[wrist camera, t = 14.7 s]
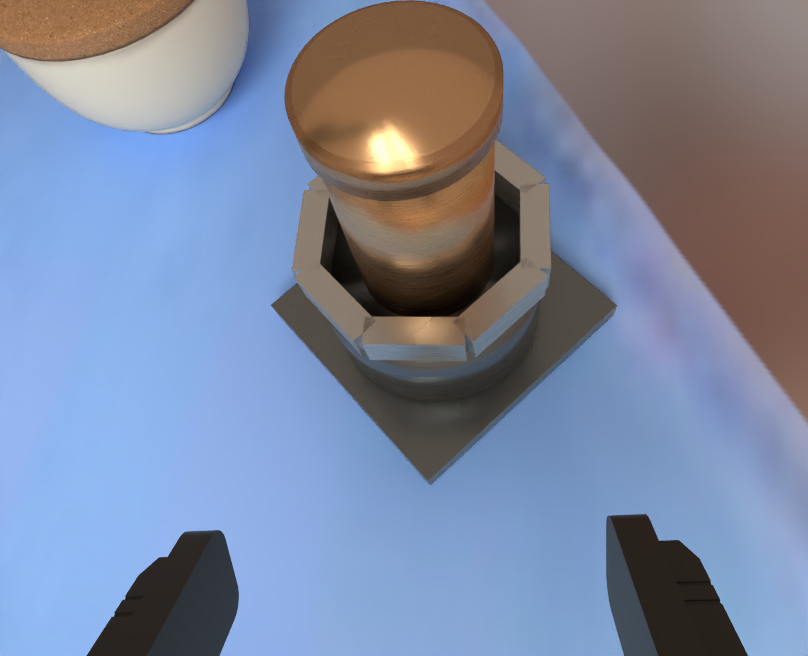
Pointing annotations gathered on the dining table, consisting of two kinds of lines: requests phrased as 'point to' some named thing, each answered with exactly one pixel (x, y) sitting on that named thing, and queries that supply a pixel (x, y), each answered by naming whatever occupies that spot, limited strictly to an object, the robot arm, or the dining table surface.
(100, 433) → the dining table surface
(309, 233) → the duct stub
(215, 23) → the lidded bowl
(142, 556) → the dining table surface
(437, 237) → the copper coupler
